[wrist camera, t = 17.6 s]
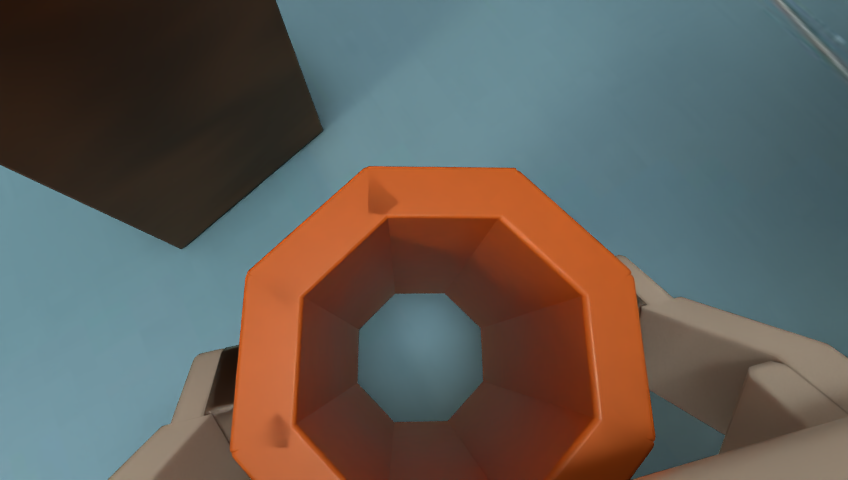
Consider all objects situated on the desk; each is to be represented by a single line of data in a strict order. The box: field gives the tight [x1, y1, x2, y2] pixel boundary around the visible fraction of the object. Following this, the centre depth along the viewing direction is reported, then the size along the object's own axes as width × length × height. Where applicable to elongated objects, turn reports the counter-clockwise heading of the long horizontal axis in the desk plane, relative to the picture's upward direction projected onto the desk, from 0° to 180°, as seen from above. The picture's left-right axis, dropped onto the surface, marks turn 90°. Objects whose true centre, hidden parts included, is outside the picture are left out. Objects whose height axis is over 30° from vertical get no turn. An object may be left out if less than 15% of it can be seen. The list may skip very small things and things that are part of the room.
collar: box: [230, 166, 655, 480], centre depth 10 cm, size 5×5×8 cm
